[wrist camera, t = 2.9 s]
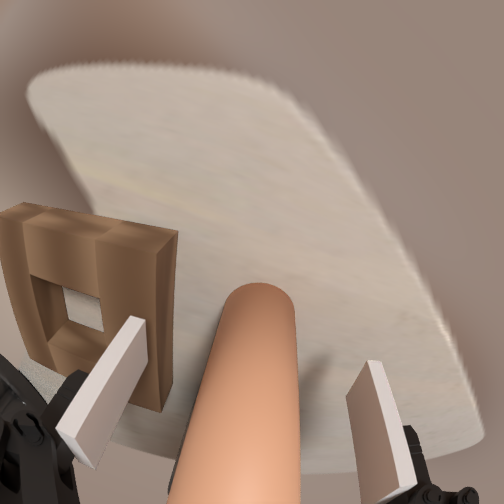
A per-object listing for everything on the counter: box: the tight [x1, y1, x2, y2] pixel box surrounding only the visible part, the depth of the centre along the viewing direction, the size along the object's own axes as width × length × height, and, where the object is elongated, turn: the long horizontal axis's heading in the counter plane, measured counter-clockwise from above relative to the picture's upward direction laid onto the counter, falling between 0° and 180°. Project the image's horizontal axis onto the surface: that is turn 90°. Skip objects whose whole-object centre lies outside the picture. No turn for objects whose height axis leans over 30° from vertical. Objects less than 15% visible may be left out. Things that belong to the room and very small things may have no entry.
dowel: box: [167, 283, 300, 504], centre depth 10 cm, size 4×4×14 cm
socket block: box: [0, 202, 178, 413], centre depth 16 cm, size 12×12×3 cm
